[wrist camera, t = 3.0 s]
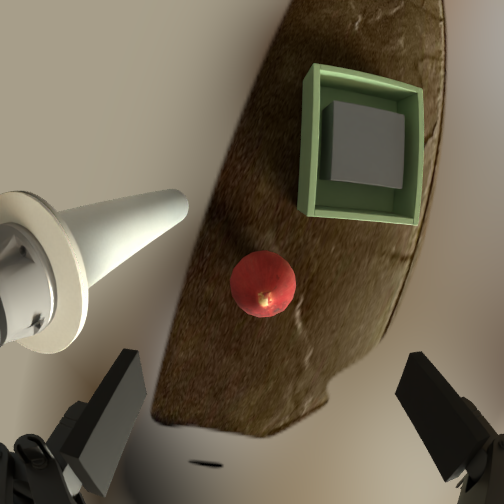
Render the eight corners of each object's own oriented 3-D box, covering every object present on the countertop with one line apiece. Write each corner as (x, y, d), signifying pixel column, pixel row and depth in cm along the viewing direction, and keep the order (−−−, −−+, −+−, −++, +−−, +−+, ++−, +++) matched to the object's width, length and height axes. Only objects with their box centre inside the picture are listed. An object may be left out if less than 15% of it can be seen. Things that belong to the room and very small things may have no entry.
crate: (296, 209, 28) (307, 216, 23) (302, 80, 25) (313, 62, 20) (394, 217, 28) (418, 225, 24) (398, 99, 25) (422, 88, 20)
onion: (299, 281, 30) (315, 316, 22) (250, 306, 31) (251, 347, 23) (273, 232, 29) (282, 253, 21) (222, 260, 29) (213, 289, 22)
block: (319, 179, 27) (330, 180, 23) (322, 109, 25) (333, 99, 21) (383, 187, 27) (402, 189, 23) (386, 121, 25) (404, 114, 21)
